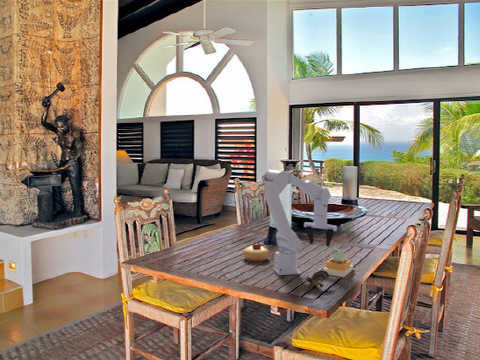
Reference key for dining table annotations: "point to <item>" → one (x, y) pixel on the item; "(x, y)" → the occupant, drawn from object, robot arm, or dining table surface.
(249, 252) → the pastry
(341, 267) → the orange and cream box
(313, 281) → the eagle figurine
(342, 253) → the green can
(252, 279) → the dining table surface
